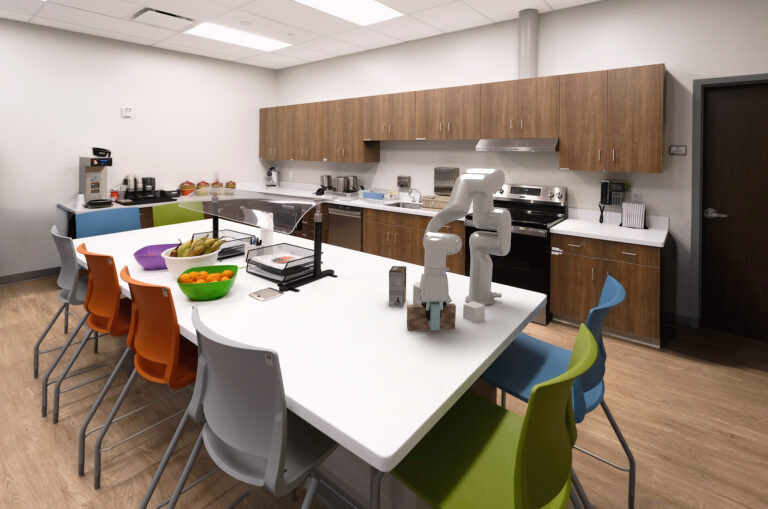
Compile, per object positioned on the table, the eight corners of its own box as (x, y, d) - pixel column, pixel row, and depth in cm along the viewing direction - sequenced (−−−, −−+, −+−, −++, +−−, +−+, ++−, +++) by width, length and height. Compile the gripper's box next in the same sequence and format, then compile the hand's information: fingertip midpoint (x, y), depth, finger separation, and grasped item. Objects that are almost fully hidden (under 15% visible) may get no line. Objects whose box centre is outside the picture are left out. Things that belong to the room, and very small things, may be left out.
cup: (411, 309, 188) (412, 282, 185) (430, 308, 188) (431, 281, 186) (414, 316, 180) (415, 287, 177) (434, 315, 180) (435, 287, 178)
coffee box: (392, 299, 200) (392, 265, 196) (406, 300, 199) (406, 266, 195) (388, 306, 191) (388, 270, 188) (403, 307, 190) (403, 271, 186)
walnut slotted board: (453, 325, 170) (453, 303, 168) (455, 328, 167) (456, 305, 165) (406, 327, 168) (407, 304, 166) (407, 330, 165) (408, 307, 163)
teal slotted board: (430, 314, 175) (431, 292, 173) (439, 329, 159) (440, 306, 157) (423, 314, 175) (423, 292, 173) (431, 330, 159) (432, 306, 157)
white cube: (462, 318, 178) (463, 304, 176) (472, 315, 181) (473, 301, 180) (474, 322, 173) (474, 308, 172) (484, 319, 177) (485, 305, 175)
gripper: (454, 267, 163) (452, 315, 167) (410, 268, 161) (409, 316, 166) (459, 273, 156) (457, 322, 160) (413, 274, 154) (413, 323, 158)
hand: (433, 318), depth 163 cm, fingers closed on teal slotted board, 3 cm apart
